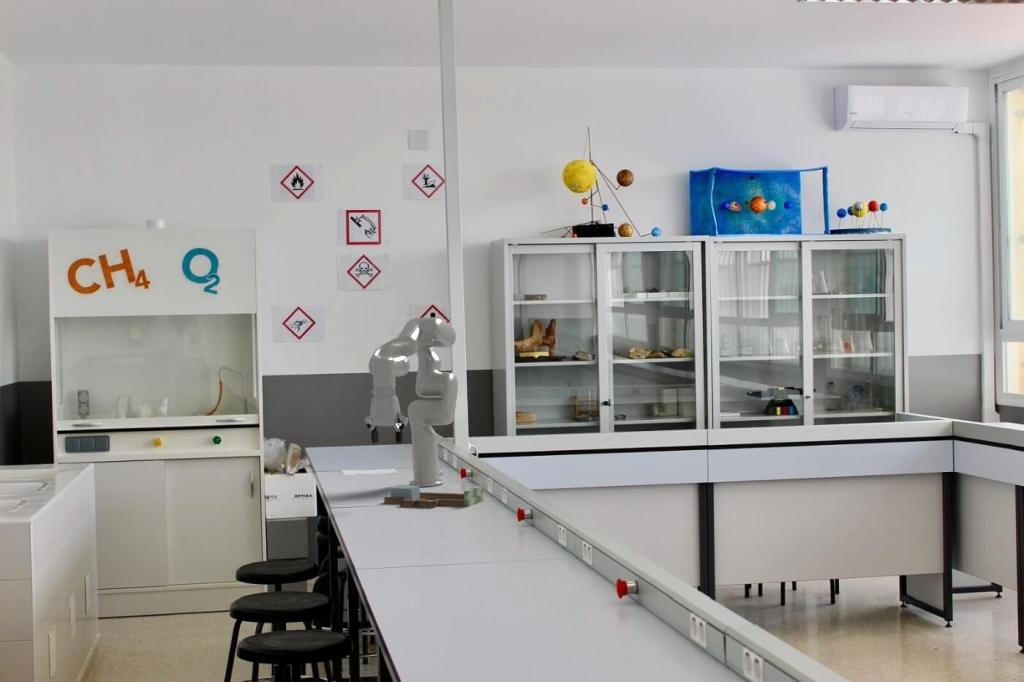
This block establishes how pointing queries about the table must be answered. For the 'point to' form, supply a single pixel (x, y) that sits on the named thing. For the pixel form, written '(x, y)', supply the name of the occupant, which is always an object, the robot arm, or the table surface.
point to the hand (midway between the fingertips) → (387, 442)
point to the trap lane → (440, 499)
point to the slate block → (406, 491)
